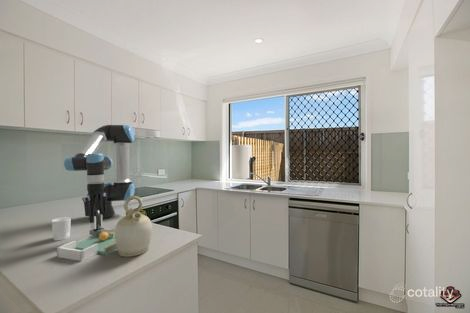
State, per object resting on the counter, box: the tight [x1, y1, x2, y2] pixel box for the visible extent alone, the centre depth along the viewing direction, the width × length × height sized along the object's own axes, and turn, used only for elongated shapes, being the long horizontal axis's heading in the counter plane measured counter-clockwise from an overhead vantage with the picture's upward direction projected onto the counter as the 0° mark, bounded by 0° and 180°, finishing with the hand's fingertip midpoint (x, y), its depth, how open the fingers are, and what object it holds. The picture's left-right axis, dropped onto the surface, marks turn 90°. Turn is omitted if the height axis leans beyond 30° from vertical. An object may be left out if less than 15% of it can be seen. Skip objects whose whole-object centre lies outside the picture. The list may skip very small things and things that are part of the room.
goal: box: [56, 240, 99, 262], centre depth 93 cm, size 8×14×4 cm, turn 74°
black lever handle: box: [89, 210, 115, 237], centre depth 111 cm, size 5×14×12 cm, turn 74°
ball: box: [99, 232, 108, 241], centre depth 106 cm, size 4×4×4 cm
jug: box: [114, 195, 153, 258], centre depth 97 cm, size 15×16×25 cm
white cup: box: [51, 216, 72, 241], centre depth 112 cm, size 8×8×10 cm
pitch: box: [75, 227, 118, 255], centre depth 108 cm, size 22×24×3 cm
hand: (96, 227), depth 112 cm, fingers closed on black lever handle, 3 cm apart
